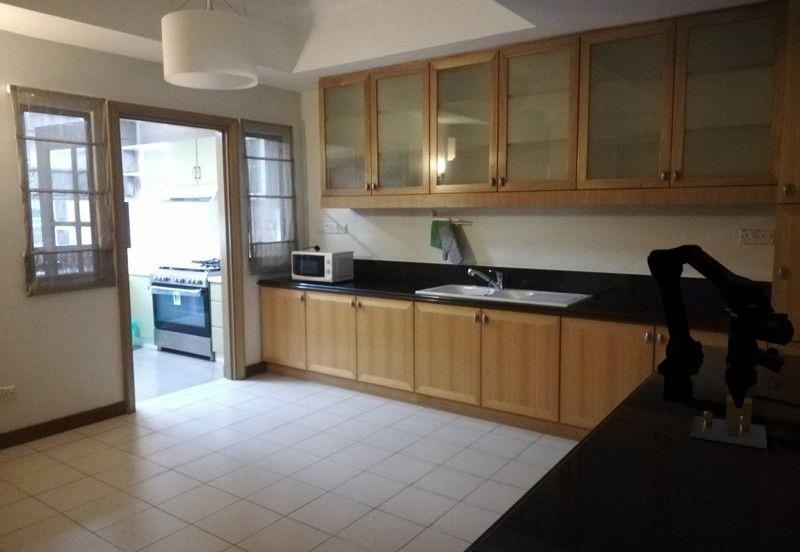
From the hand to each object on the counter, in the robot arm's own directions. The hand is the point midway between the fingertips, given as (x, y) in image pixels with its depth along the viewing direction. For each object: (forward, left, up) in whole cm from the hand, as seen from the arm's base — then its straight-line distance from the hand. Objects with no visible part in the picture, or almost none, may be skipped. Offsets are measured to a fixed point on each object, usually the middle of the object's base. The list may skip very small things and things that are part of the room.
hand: (738, 402), depth 142 cm
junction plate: (-2, -12, -4) cm, 13 cm away
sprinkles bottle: (+2, +24, -4) cm, 24 cm away
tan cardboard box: (0, 0, -4) cm, 4 cm away
